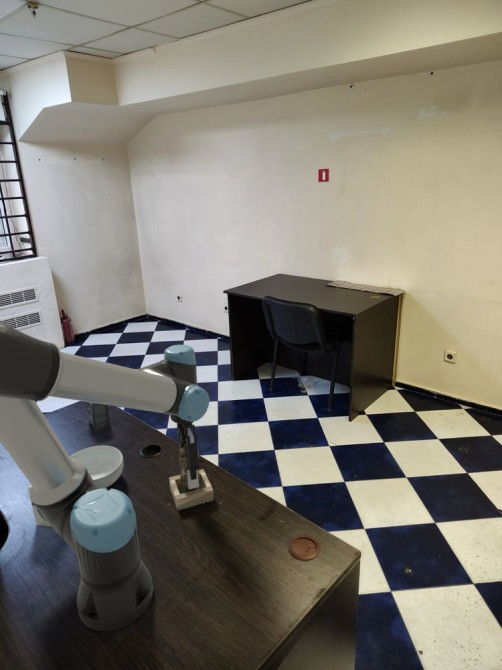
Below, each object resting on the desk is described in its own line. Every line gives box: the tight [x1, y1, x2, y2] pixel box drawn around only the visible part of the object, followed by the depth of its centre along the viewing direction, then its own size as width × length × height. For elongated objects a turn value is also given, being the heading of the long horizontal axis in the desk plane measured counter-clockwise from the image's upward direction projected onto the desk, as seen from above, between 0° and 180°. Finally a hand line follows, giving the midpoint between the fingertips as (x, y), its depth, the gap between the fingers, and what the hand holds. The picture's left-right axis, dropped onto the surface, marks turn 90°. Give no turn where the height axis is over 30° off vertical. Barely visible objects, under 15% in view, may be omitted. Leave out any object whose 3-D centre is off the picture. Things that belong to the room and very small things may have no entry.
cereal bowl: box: [69, 445, 124, 489], centre depth 129 cm, size 17×17×7 cm
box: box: [85, 402, 111, 431], centre depth 160 cm, size 8×6×11 cm
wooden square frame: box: [168, 468, 215, 511], centre depth 123 cm, size 10×10×4 cm
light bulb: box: [177, 447, 200, 492], centre depth 121 cm, size 6×6×15 cm
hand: (190, 478), depth 122 cm, fingers open, 7 cm apart
